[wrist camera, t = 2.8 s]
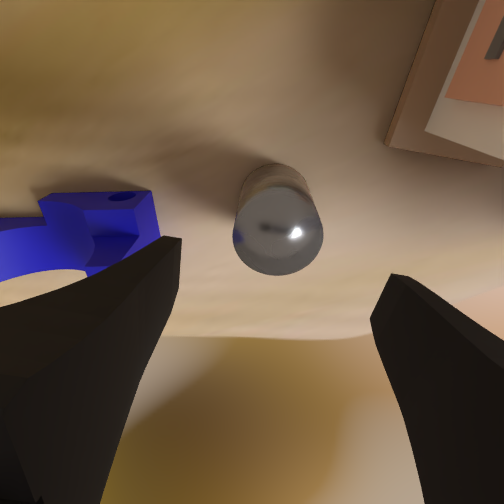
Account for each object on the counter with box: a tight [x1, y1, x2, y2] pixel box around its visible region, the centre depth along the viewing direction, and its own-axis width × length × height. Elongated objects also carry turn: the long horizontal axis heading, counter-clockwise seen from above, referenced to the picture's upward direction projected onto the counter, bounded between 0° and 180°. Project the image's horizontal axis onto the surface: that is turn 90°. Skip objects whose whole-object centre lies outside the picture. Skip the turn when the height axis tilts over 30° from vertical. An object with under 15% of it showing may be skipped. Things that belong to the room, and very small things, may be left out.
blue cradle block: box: [0, 191, 161, 282], centre depth 17 cm, size 12×4×6 cm, turn 92°
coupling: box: [233, 164, 323, 276], centre depth 16 cm, size 4×4×5 cm
